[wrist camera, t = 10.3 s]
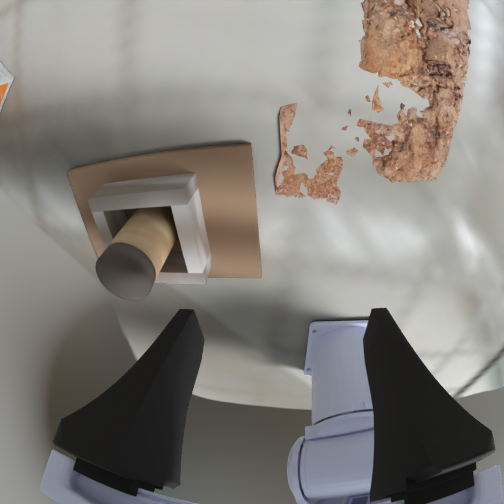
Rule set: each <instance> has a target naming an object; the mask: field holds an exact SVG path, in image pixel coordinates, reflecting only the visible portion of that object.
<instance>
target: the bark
mask: <svg viewBox="0 0 504 504" xmlns="http://www.w3.org/2000/svg"><path fill="white" fill-rule="evenodd" d="M468 4H469V0H421V1H420V0H365V2H364V3H362V6H363V10H364V13H365V16H364V18H365V20H362V24H363V29H364V32H365V36H363V38H362V40H361V41H360V40H358V41H359V42H360V43H361V59H362V60H361V62H360V64H359V67H360V68H361V69H363V70H365V71H368V72H371V73H376V72H377V71H378V75H379V77H382V76H387V77H390V78H392V79H398V80H399V81H401V84H402V86H405V87H408V88H410V89H411V90H413V91H414V92H415V93H418V94H419V95H420V96H421V97H422V98H427V99H428V100H429V104H430V107H427V108H425V109H424V110H423V111H420V112H421V113H422V115H423V118H419V117H418V116H417V115H416V111H417V108H414V107H412V108H410V109H408V113H407V117H406V115H405V114H404V112H403V111H404V110H405V109H406V108H405V105H404V104H402V103H401V105H400V108H401V110H400V111H399V113H398V115H397V118H398V121H399V123H398V124H395V125H384V124H380V123H376V122H372V121H370V120H369V121H368V120H363V119H359V121H358V124H357V126H359V127H364V130H365V131H366V133H367V134H368V135H369V137H370V138H371V140H368V139H365V140H364V142H363V148H365V149H366V150H367V151H368V152H369V153H370V155H371V156H372V158H373V166H375V167H376V169H377V173H378V174H379V175H381V176H383V177H386V176H387V177H388V179H391V181H392V182H395V181H399V182H400V181H404V182H405V181H407V182H410V181H418V180H421V181H422V180H431V181H432V180H433V179H436V177H437V176H438V173H440V169H441V168H442V167H443V165H444V164H445V163H444V161H446V156H447V155H448V151H449V144H450V141H451V138H452V133H453V130H454V127H455V125H456V120H457V119H458V115H459V111H460V106H461V102H462V97H463V87H464V86H465V83H464V81H465V80H466V77H465V76H464V75H466V73H467V72H466V70H467V68H468V60H467V58H468V57H469V55H470V50H469V44H471V39H470V38H469V36H468V34H467V28H468V29H471V27H470V22H469V17H468V15H467V11H466V10H467V9H468V8H469V7H468ZM407 12H408V14H407ZM418 18H419V19H420V22H421V24H422V26H423V27H420V26H418V25H417V24H416V23H414V25H415V28H412V27H411V26H412V23H411V22H410V21H411V20H413V21H414V22H416V20H417V19H418ZM436 18H437V19H436ZM370 21H371V22H370ZM409 27H410V28H411V30H409ZM416 29H419V32H420V34H421V35H420V36H418V35H417V33H416ZM456 48H457V49H458V50H457V49H456ZM413 76H414V77H416V78H415V79H413ZM412 83H416V84H418V86H416V85H413V84H412ZM383 84H384V85H386V86H387V87H388V88H389V86H390V85H392V83H391V82H390V83H383ZM418 87H419V88H420V89H419V90H418ZM365 98H366V99H367V101H368V102H370V99H369V97H368V95H367V96H366V97H365ZM381 104H382V102H380V100H379V97H378V87H377V89H376V92H375V95H374V98H373V101H372V110H373V111H376V112H380V111H382V110H384V108H382V107H381ZM296 105H297V103H294V104H290V105H286V106H282V107H281V109H280V117H279V121H280V136H281V152H282V157H281V160H280V163H279V166H278V169H277V172H276V176H275V184H276V195H277V194H278V195H282V194H284V195H286V196H292V195H294V196H295V197H296V196H298V198H299V197H302V198H303V196H304V197H305V195H303V194H302V193H301V192H300V191H299V190H300V184H301V183H302V182H303V184H304V186H305V187H306V188H307V189H308V193H307V195H308V196H311V197H312V198H313V199H319V198H321V199H322V198H327V202H333V203H334V204H337V201H338V200H339V197H340V190H339V188H338V186H337V182H338V178H339V175H340V172H341V169H342V168H341V166H343V160H342V157H335V156H334V153H333V152H332V151H329V150H330V149H331V148H334V147H332V146H331V147H330V148H329V150H328V151H326V152H324V155H325V156H326V157H327V158H329V157H330V158H329V159H328V160H326V161H325V162H324V163H323V164H321V165H320V166H319V167H318V168H317V175H315V176H314V179H308V175H306V174H305V173H301V174H297V175H294V172H295V166H294V165H293V160H292V157H291V156H289V154H288V153H287V152H286V148H287V140H286V131H289V129H290V127H291V124H292V121H293V119H294V116H295V112H296ZM348 113H349V114H350V116H351V110H350V109H349V111H348ZM370 117H371V116H370ZM346 128H347V126H345V127H343V128H342V130H346ZM390 135H394V136H395V138H394V140H393V141H392V142H390V141H389V140H388V139H387V138H386V137H384V136H390ZM355 139H356V140H357V141H359V138H358V137H356V138H355ZM383 143H385V145H383ZM385 147H386V148H387V149H392V151H390V152H389V155H386V156H383V157H375V149H376V150H378V151H379V152H381V153H382V155H383V154H384V150H385ZM335 149H336V148H335ZM346 152H347V154H349V155H351V156H354V155H355V154H356V153H357V152H358V150H356V149H355V148H353V149H350V150H348V151H346ZM292 153H293V154H295V155H298V156H302V157H305V158H306V159H307V160H308V158H307V150H306V148H305V146H304V145H298V146H294V149H293V150H292ZM284 165H286V166H289V168H288V169H287V170H285V171H282V174H283V176H284V180H283V181H282V183H281V185H280V186H279V187H278V188H277V179H278V176H279V174H280V171H281V170H282V168H283V167H284ZM398 168H399V169H398ZM330 172H334V175H332V176H331V175H328V174H326V173H330ZM320 173H321V174H320ZM384 175H385V176H384ZM387 177H386V178H387Z"/></svg>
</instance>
